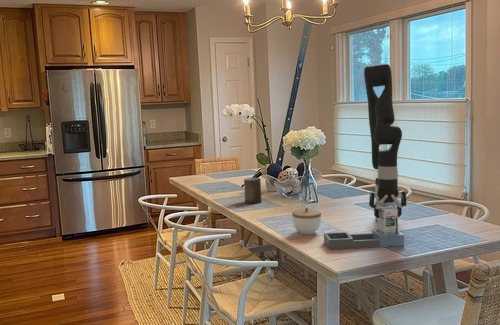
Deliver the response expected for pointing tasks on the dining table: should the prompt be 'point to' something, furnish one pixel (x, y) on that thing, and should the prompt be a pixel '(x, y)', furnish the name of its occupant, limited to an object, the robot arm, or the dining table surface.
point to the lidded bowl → (306, 220)
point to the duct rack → (362, 240)
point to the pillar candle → (252, 190)
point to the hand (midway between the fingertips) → (387, 217)
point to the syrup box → (388, 220)
